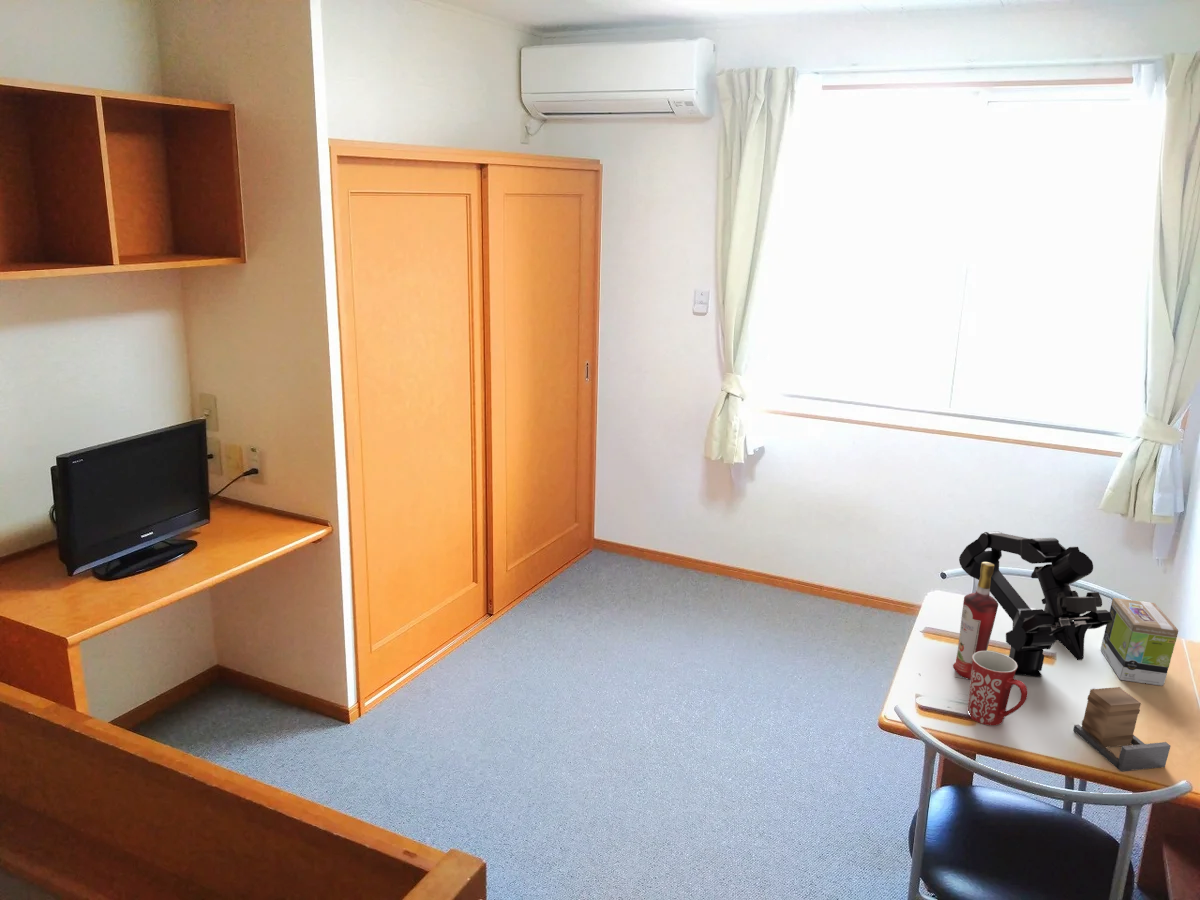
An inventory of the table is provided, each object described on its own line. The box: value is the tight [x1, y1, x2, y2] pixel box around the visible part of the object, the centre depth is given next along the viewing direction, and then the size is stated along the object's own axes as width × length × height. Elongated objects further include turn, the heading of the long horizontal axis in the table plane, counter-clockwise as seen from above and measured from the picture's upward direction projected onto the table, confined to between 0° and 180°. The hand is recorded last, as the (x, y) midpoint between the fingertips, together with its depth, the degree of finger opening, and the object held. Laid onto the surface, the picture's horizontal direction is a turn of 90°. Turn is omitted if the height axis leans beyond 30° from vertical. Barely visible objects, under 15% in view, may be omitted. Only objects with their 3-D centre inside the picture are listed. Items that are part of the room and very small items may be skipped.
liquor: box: [952, 562, 999, 680], centre depth 209 cm, size 7×7×28 cm
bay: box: [1073, 724, 1171, 772], centre depth 187 cm, size 14×10×5 cm
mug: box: [967, 650, 1028, 727], centre depth 193 cm, size 13×9×14 cm
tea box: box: [1100, 597, 1179, 686], centre depth 217 cm, size 15×10×15 cm, turn 168°
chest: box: [1081, 686, 1142, 748], centre depth 189 cm, size 6×7×10 cm
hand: (1080, 659), depth 198 cm, fingers closed
